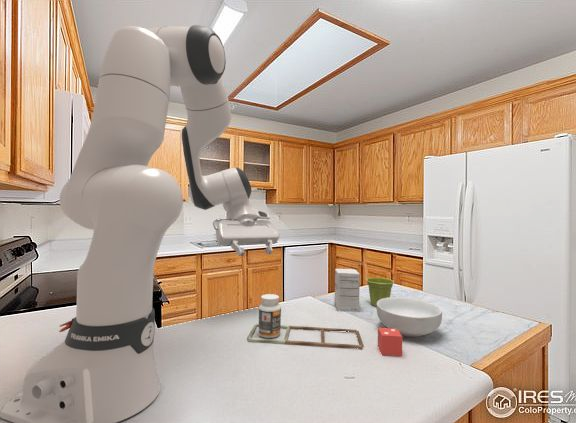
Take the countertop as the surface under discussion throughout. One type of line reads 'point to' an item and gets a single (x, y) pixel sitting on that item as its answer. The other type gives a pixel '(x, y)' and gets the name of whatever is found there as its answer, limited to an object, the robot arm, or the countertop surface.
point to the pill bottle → (269, 316)
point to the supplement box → (347, 289)
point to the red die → (390, 341)
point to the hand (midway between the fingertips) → (256, 253)
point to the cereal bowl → (409, 315)
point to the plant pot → (379, 289)
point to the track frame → (304, 341)
